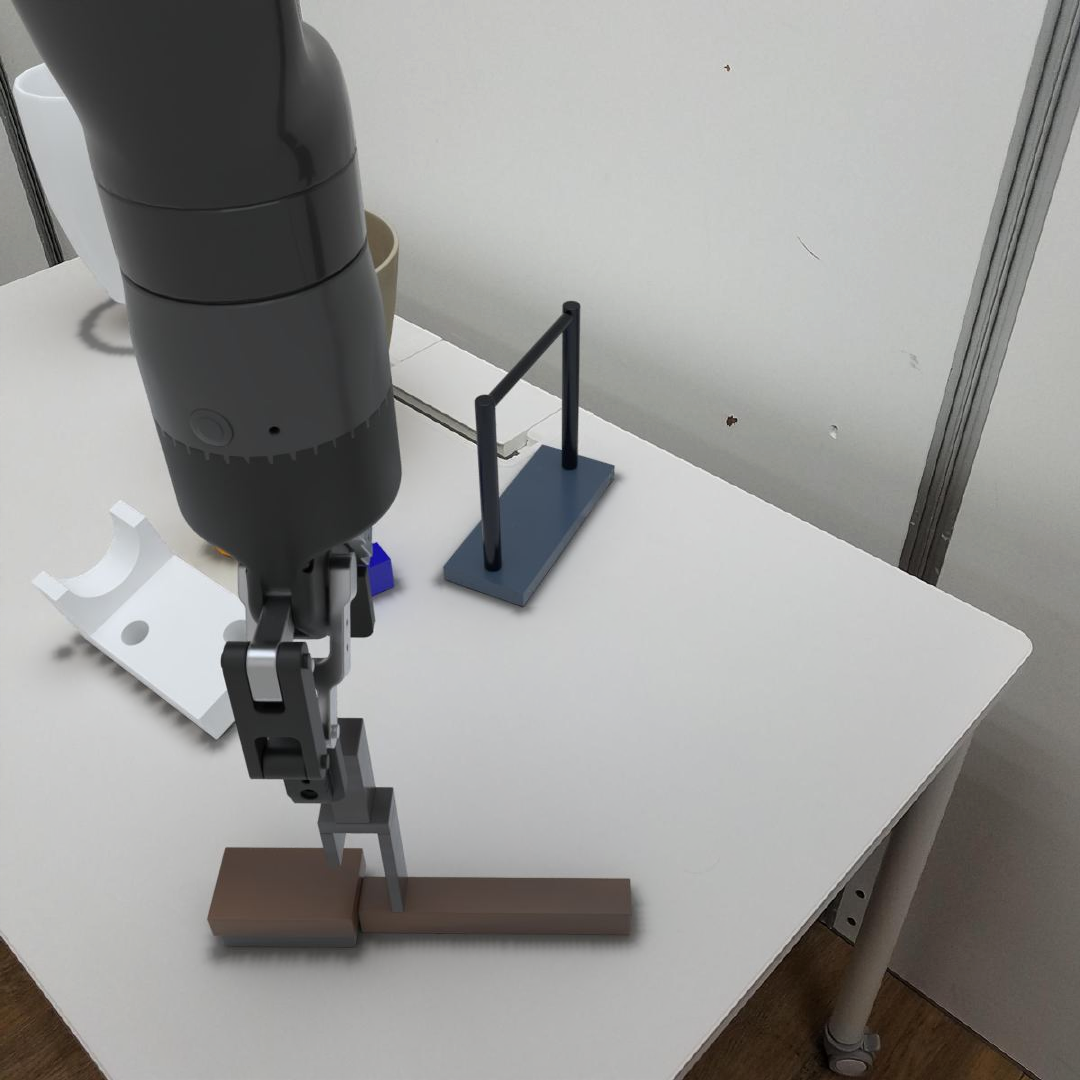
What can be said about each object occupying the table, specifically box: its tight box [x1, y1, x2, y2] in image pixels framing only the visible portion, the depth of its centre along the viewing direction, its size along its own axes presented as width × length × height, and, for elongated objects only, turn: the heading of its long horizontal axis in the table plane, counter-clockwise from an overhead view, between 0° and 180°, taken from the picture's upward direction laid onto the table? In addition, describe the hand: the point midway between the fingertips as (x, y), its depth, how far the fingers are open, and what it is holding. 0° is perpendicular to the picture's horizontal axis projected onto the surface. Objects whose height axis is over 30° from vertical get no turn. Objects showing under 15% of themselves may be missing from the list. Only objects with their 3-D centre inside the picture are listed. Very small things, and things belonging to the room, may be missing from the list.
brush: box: [206, 717, 633, 948], centre depth 52 cm, size 4×20×15 cm, turn 89°
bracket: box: [30, 499, 295, 741], centre depth 67 cm, size 13×7×8 cm, turn 51°
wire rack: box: [442, 300, 616, 607], centre depth 74 cm, size 6×15×15 cm, turn 154°
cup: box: [12, 62, 126, 305], centre depth 93 cm, size 10×10×22 cm
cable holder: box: [362, 541, 395, 597], centre depth 75 cm, size 8×4×4 cm, turn 33°
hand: (335, 706), depth 46 cm, fingers open, 8 cm apart
